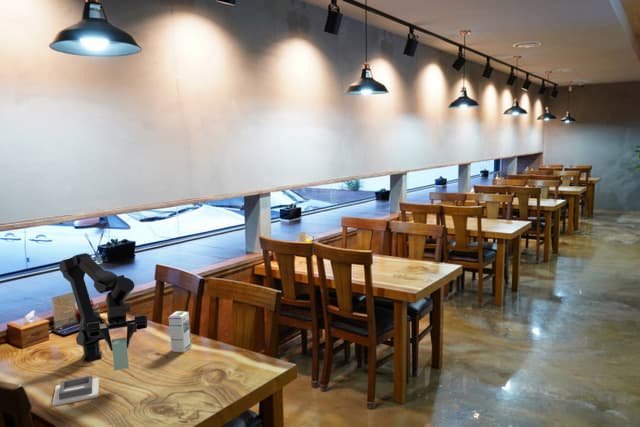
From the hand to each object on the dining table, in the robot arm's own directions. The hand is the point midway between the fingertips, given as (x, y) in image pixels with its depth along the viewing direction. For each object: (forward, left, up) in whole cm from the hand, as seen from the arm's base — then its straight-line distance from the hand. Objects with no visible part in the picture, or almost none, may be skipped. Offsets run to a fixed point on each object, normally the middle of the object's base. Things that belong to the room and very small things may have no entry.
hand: (119, 349), depth 162 cm
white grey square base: (-3, -14, -13) cm, 20 cm away
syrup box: (-23, +22, -14) cm, 35 cm away
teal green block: (-1, 0, -7) cm, 7 cm away
